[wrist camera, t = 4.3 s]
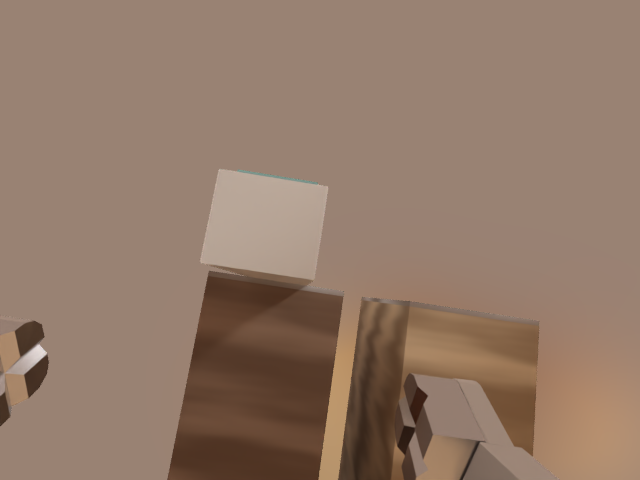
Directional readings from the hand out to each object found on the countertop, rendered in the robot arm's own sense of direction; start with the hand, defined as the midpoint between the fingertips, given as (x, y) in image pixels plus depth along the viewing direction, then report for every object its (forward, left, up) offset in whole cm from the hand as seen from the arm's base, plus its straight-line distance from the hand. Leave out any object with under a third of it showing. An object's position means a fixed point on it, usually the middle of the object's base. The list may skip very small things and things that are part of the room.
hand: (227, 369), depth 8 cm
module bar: (-13, -8, +2) cm, 16 cm away
